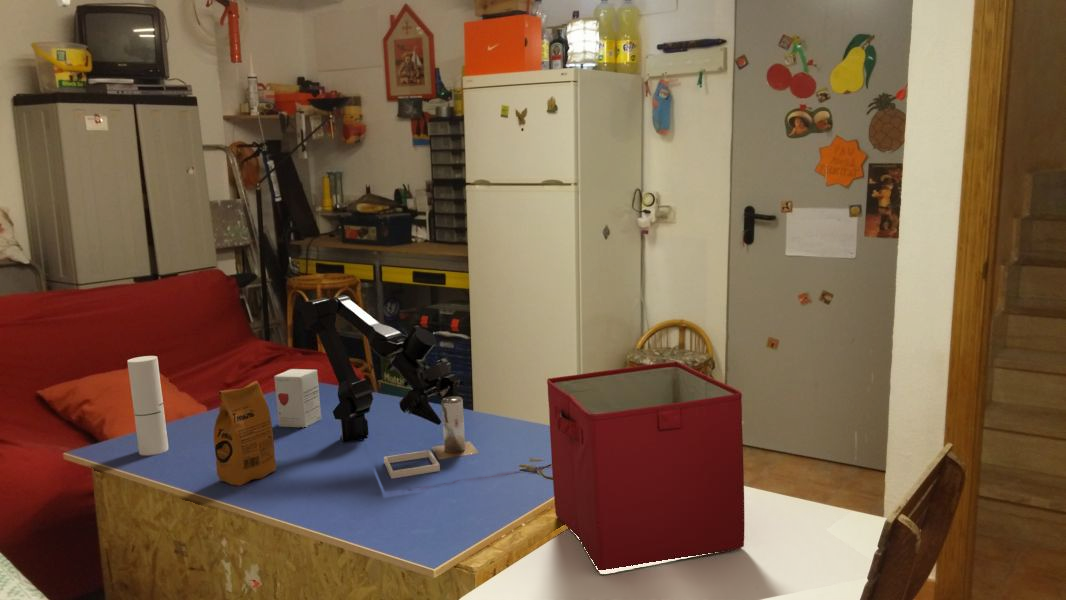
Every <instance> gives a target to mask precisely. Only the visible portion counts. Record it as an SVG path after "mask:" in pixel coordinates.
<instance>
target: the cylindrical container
mask: <svg viewBox="0 0 1066 600" xmlns="http://www.w3.org/2000/svg"><path fill="white" fill-rule="evenodd" d="M158 358H159V357H158V356H156V355H146V356H145V355H143V356H137V357H133V358H130V359H127V369H128V376H129V385H130V391H131V393H130V394H131V399H132V407H133V416H134V421H135V422H134V425H135V431H136V438H137V439H136V440H137V447H138V453H139V455H140V456H155V455H159V454H162V453H163V454H164V453H165V452H167V451H168V450H169V449H170V448H169V439H168V434H167V425H166V424H167V423H166V416H165V407H164V401H163V400H164V399H163V392H162V391H163V390H162V385H161V383H162V382H161V377H160V376H161V375H160V367H159V359H158Z"/></svg>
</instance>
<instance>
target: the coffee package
mask: <svg viewBox="0 0 1066 600" xmlns="http://www.w3.org/2000/svg"><path fill="white" fill-rule="evenodd" d="M218 397H220V400H221V402H220V405H219V409H218V414H217V417H216V419H215V423H214V427H213V443H214V455H215V465H216V476H217V477H218V480H220V481H221V482H225V483H226V484H230V485H232V486H239V487H240V486H242V485H244V484H247V483H249V482H251V481H252V480H261V479H262V478H265V477H267V476H268V475H270V474H271V473H273V472H276V470H277V468H276V467H277V463H276V455H275V444H274V442H275V441H274V433H273V427H272V425H273V424H272V418H271V413H270V412H271V411H270V409H269V405H268V403H267V400H266V398H265V396H264V393H263V391H262V387H261V386H260V384H259V381H258V380H255V381H253V382H251V383H249V384H247V386H244V387H243V388H236V389H235V388H234V389H226V390H219V391H218Z"/></svg>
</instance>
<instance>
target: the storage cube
mask: <svg viewBox="0 0 1066 600" xmlns="http://www.w3.org/2000/svg"><path fill="white" fill-rule="evenodd" d="M546 384H547V398H548V412H549V413H548V414H549V416H548V417H549V434H550V440H549V441H550V452H551V464H552V465H551V471H552V473H551V474H552V477H553V479H552V486H553V496H554V512H555V516H556V517H557V518H558V519H559V520H560V521H561V522H562V523H563V524H564V525H565V527H567V528H568V530H570V529H571V530H572V531H573V532H574V533H575V534H576V535H577V536H578V537H579V539H580V541H581V542H582V544H583V546H584V547H585V549H586V551H587V552H588V554H589V556H590V558H591V559H592V560H593V562H594V564H595V566H597V568H598V570H606V569H612V568H613V569H614V568H619V567H626V566H631V565H632V566H633V565H638V564H643V563H649V562H656V561H662V560H668V559H675V558H681V557H688V556H696V555H702V554H708V553H715V552H721V553H724V552H723V551H726V552H729V551H728V550H731V551H734V550H738V549H741V548H744V547H745V526H746V524H745V475H744V473H745V472H744V470H745V469H744V446H743V445H744V439H743V403H742V398H743V397H742V396H743V394H742V392H741V391H740V390H738V389H736V388H735V387H733V386H731V385H728V384H727V383H726V384H725V383H724V382H722V381H719V380H717V379H715V378H713V377H710V376H709V375H707V374H704V373H702V372H700V371H698V370H695V369H694V368H692V367H690V366H688V365H686V364H685V363H682V362H680V361H671V362H670V361H669V362H668V361H667V362H660V363H659V362H658V363H652V364H645V365H637V366H630V367H629V366H628V367H622V368H621V367H620V368H615V369H607V370H601V371H594V372H593V371H592V372H586V373H579V374H573V375H566V376H565V375H564V376H557V377H552V378H551V377H550V378H549V377H548V378H547V379H546ZM583 546H582V547H583ZM733 549H734V550H733Z"/></svg>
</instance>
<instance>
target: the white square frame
mask: <svg viewBox="0 0 1066 600" xmlns="http://www.w3.org/2000/svg"><path fill="white" fill-rule="evenodd" d="M431 450H432V449H428V450H421V451H413V452H407V453H400V454H394V455H393V454H392V455H388V456H383V460H384V461H383V462H384V465H385V467H386V470H387V472H388V474H389V477H390V478H391V479H397V478H402V477H410V476H416V475H421V474H422V475H423V474H428V473H435V472H440V471H441V467H440V462H438V460H437V458H436V457H435V455H434V453H433V452H432V451H431ZM425 458H428V459H429V460H430V462H431V464H427V465H421V466H416V467H415V466H414V467H411V468H410V467H409V468H402V469H396V470H395V469H394V470H393V467H392V466H391V463H392V464H393V463H400V462H405V461H407V462H408V461H412V460H419V459H425Z"/></svg>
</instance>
